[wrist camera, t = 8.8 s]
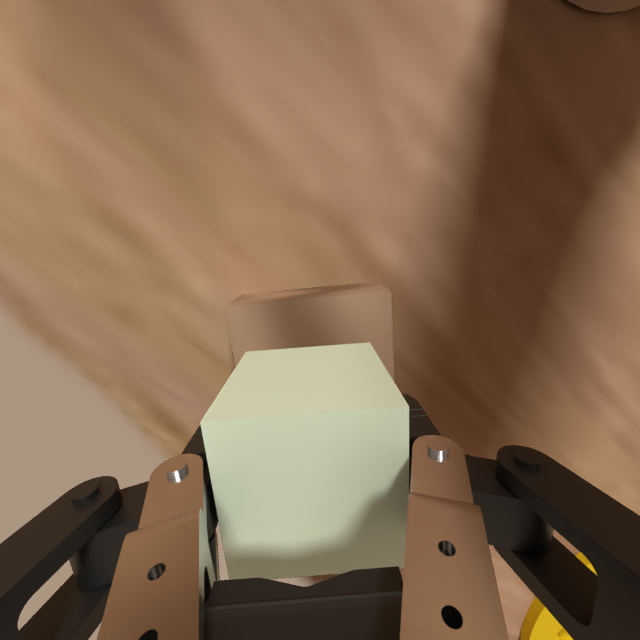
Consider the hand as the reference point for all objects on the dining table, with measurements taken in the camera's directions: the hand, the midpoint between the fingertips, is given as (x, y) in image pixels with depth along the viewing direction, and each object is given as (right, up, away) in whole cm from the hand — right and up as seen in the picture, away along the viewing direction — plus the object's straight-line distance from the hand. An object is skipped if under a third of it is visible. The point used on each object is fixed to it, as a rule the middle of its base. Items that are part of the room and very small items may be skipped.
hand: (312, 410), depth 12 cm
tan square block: (0, +2, +7) cm, 7 cm away
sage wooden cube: (0, 0, +1) cm, 1 cm away
